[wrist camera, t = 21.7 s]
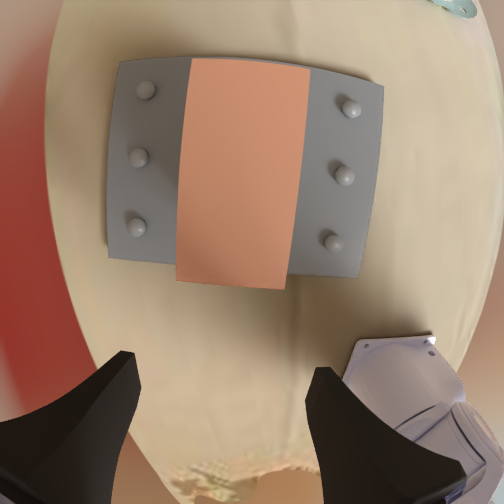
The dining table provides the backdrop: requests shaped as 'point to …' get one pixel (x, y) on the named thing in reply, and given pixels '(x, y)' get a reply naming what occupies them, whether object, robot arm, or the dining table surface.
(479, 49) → the dining table surface
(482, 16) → the dining table surface
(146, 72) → the baseplate
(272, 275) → the terracotta brick
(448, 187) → the dining table surface
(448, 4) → the pacifier
